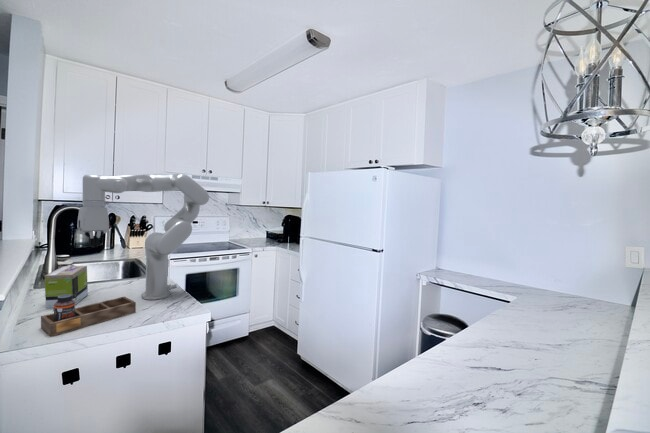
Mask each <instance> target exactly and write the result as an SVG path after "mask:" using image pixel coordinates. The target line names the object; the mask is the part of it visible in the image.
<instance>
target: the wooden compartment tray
mask: <svg viewBox="0 0 650 433" xmlns="http://www.w3.org/2000/svg"><path fill="white" fill-rule="evenodd" d="M136 305H137V304H136V301H135V300H132V299H130V298H128V297H126V296H122V297H115V298H112V299H109V300H103V301H100V302H96V303H91V304H86V305H82V306H78V307H75V317H72V318H68V319H64V320H61V321H57V322H54V312H53V313H48V314H44V315H41V316H40V329H41V330H43V331H44V333H46V334H47V335H48V336H49V337H55V336H58V335H62V334H64V333H68V332H71V331H75V330H78V329H82V328H86V327H89V326H93V325H96V324H100V323H103V322H104V323H105V322H107V321H111V320H114V319H118V318H121V317H125V316H127V315H128V316H129V315H132V314H135V313H136V309H137V308H136Z"/></svg>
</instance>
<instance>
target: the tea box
mask: <svg viewBox="0 0 650 433" xmlns="http://www.w3.org/2000/svg"><path fill="white" fill-rule="evenodd" d="M88 285H89V284H88V265H73V266H72V265H71V266H70V265H67V266H66V265H65V266H63V265H62V266H60V267H59V268H57V269H55V270H54V271H51V272H49V273H47V274H45V275H44V292H45V293H44V295H45V308H46V309H54V304H55V303H56V302H57V301H58V300H57V299H58V296H60V295H64V294H70V295H72V298H71V299H72V300H74V301H75V305H77V304H78V303H79V302H80V301H81V300H83V299H84V298H85V297H86V296H88V294H89V292H88V290H89V289H88Z"/></svg>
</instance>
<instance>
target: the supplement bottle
mask: <svg viewBox="0 0 650 433" xmlns="http://www.w3.org/2000/svg"><path fill="white" fill-rule="evenodd" d="M71 298H72V295H70V294H64V295H60V296H58V299H57V300H58V301H57V302H56V303H55V304H54V308H53V313H54V322H57V321H61V320H64V319H68V318H72V317H75V308H76V304H75V301H74V300H72V299H71Z"/></svg>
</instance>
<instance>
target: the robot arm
mask: <svg viewBox="0 0 650 433" xmlns="http://www.w3.org/2000/svg"><path fill="white" fill-rule="evenodd" d="M175 191H176V192H177V191H179V192H180V193H183V201H184V202H183V206H182V208H181V209H179V211H177V213H175V214H174V215H173V216H171V218H169V219H168V220H167V221H166V223H164V227H163V229H164V231H165V232H164V233H163V232H152V233H150V234H148V235H147V237H146V239H145V240H144V249H145V291H144V292H142V294H141V298H142V299H145V300H148V301H149V300H151V301H152V300H153V301H155V300H161V299H162V300H163V299H165V298H168V297H170V296H171V294H172V292H171V290H174V289H177V288H178V286H177V284H171V283H170V284H168V278H169V277H168V276H169V272H168V271H169V255H170V254H172V253H173V252H175V251H176V250H177V249H178V248H179V247H180V246H181V245H182V244H183V243H184V242H185V241H186V240H187V239H188V238H190V236H191V234H192V232H193V226H192V223H193V222H194V221H195V220H196V219H197V218H198V216H199V213H200V207H201V206H205V205H206V204H208V203H209V200H210V194H209V192H208V191H207V190H206V189H205V188H204V187H202V186H201V185H200V184H199V183H198V182H196V181H195V180H194V179H193V178H192V177H190V176H189V175H188V174H185V173H145V174H133V175H132V174H130V175H124V174H123V175H108V176H103V175H96V174H84V175H83V177H82V206H80V207H79V209H78V216H77V225H76V226H77V230H78V231H77V233H78V235H83V236H86V237H87V238H88V246H89V247H90V248H98V246H99V244H100V241H99V240H100V238H101V237H102V236H103V235H104V234H107V233H109V232H110V230H109V229H110V228H109V227H110V220H109V211H108V208H107V207H106V206H108V205H110V203H109V201H107V200H106V193H112V194H122V193H124V192H142V193H143V192H144V193H159V192H175Z"/></svg>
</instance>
